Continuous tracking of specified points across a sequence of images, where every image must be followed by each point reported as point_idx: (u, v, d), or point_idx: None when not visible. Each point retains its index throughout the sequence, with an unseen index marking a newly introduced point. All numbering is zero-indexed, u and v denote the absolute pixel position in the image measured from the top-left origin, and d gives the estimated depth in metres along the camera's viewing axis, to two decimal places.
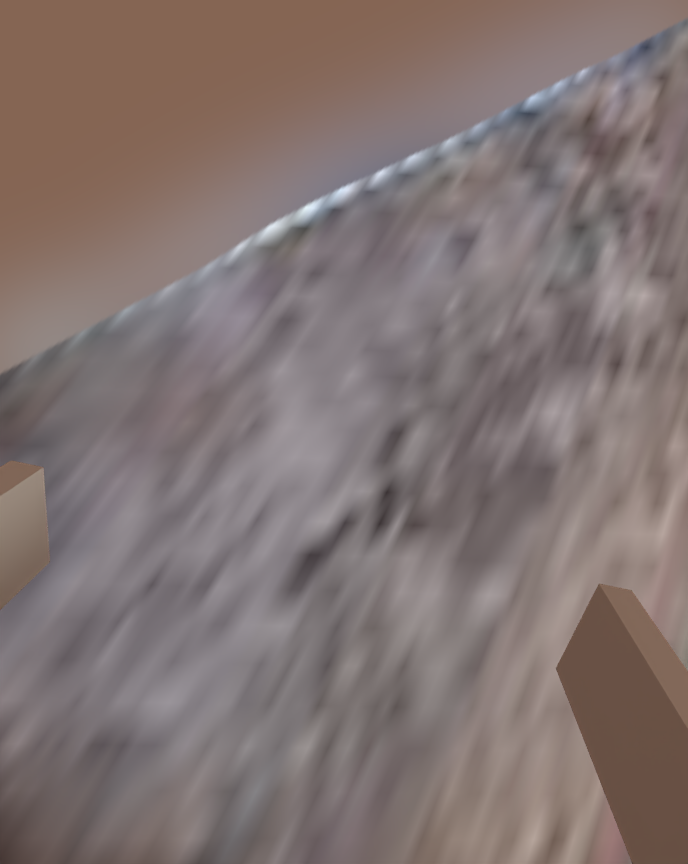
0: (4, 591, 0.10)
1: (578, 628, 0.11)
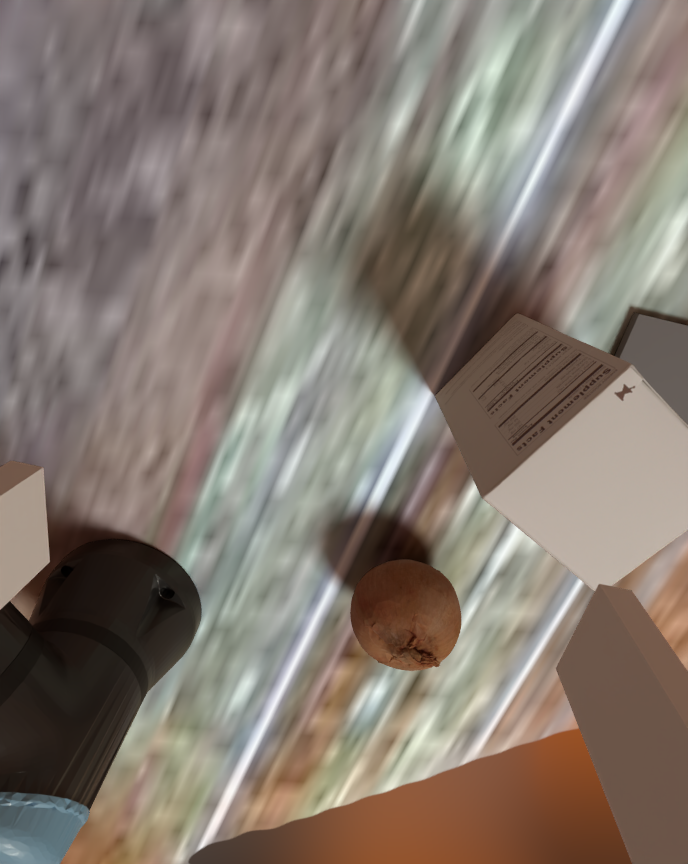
0: (3, 591, 0.10)
1: (577, 629, 0.11)
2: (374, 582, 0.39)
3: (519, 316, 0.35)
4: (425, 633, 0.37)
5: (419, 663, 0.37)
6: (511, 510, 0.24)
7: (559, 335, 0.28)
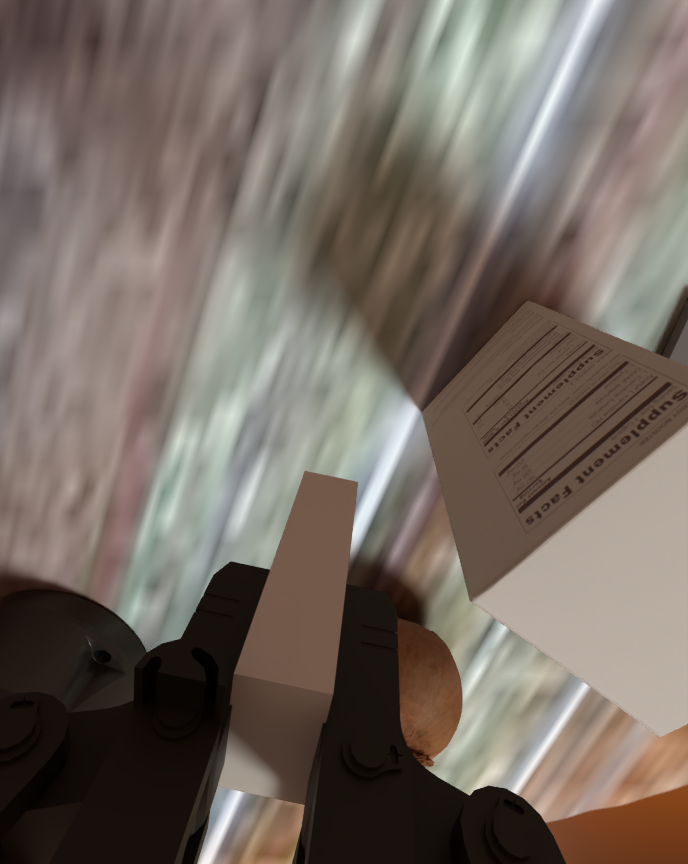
0: None
1: None
2: None
3: (531, 305, 0.26)
4: (412, 726, 0.28)
5: None
6: (518, 620, 0.15)
7: (590, 331, 0.19)
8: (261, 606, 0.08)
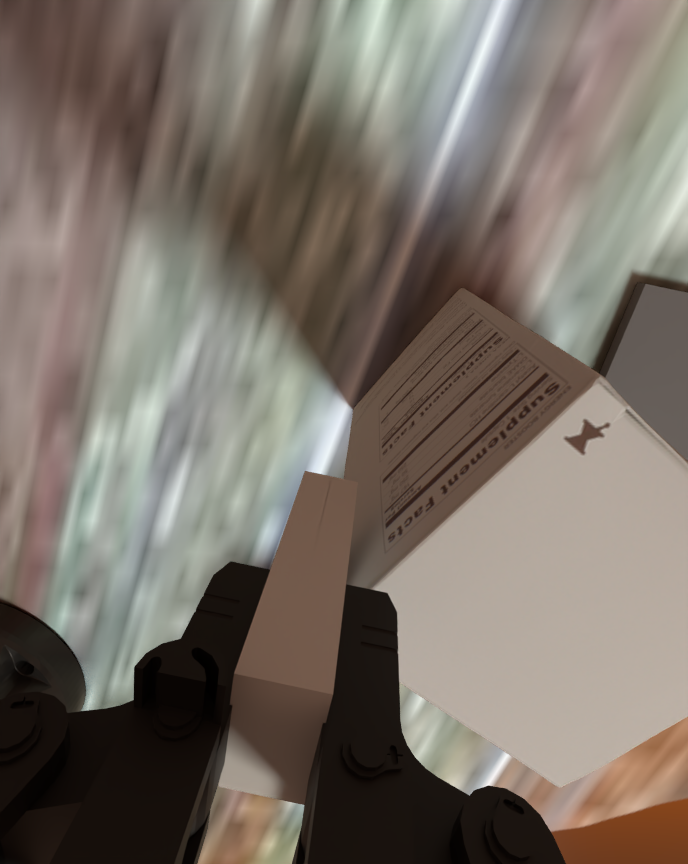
0: None
1: None
2: None
3: (462, 292, 0.23)
4: None
5: None
6: None
7: (498, 317, 0.16)
8: (261, 607, 0.08)
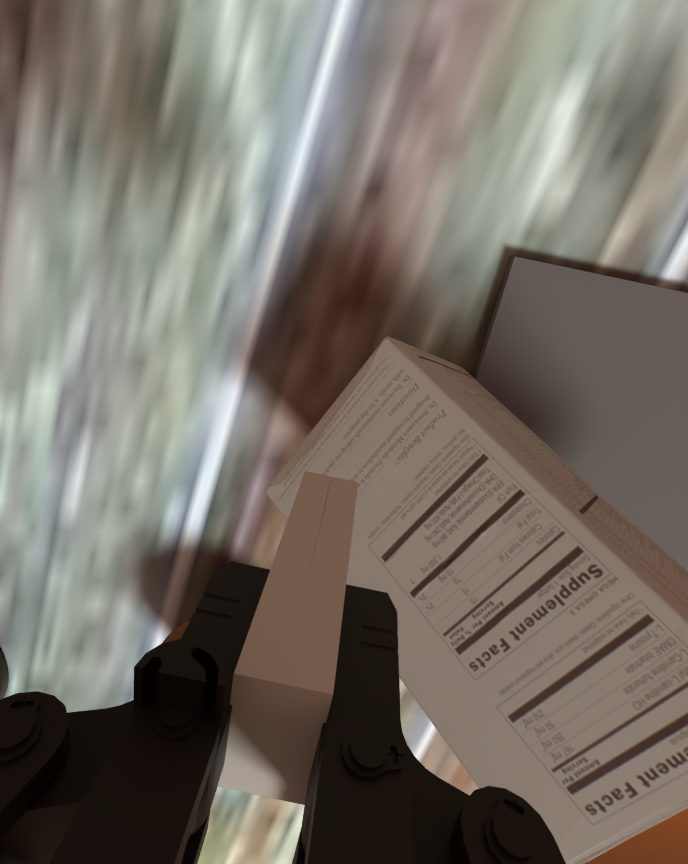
0: None
1: None
2: None
3: (400, 357, 0.18)
4: None
5: None
6: None
7: (560, 510, 0.15)
8: (261, 606, 0.08)
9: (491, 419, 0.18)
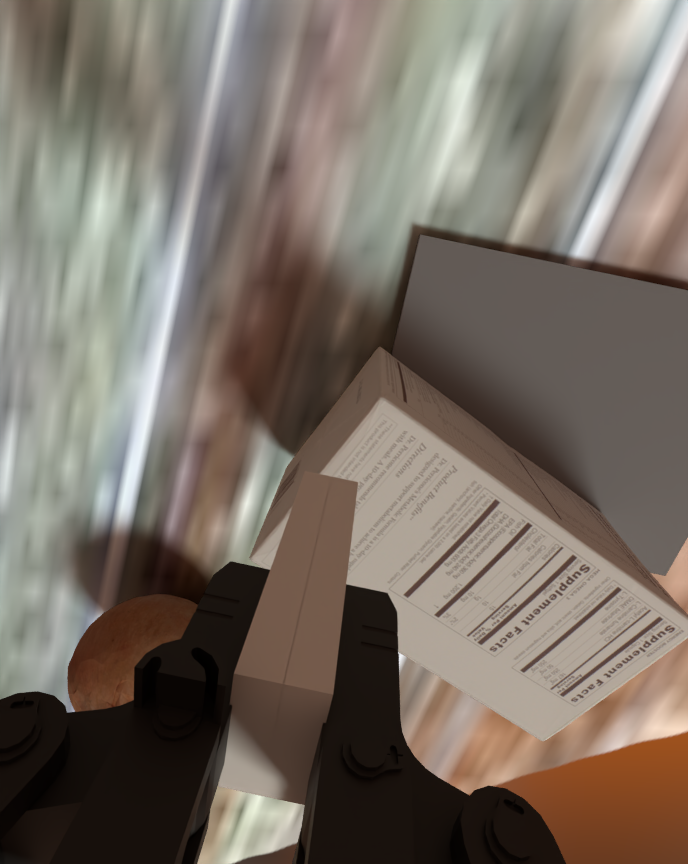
0: None
1: None
2: (91, 630, 0.28)
3: (401, 418, 0.17)
4: None
5: None
6: None
7: (559, 532, 0.18)
8: (261, 606, 0.08)
9: (475, 447, 0.19)
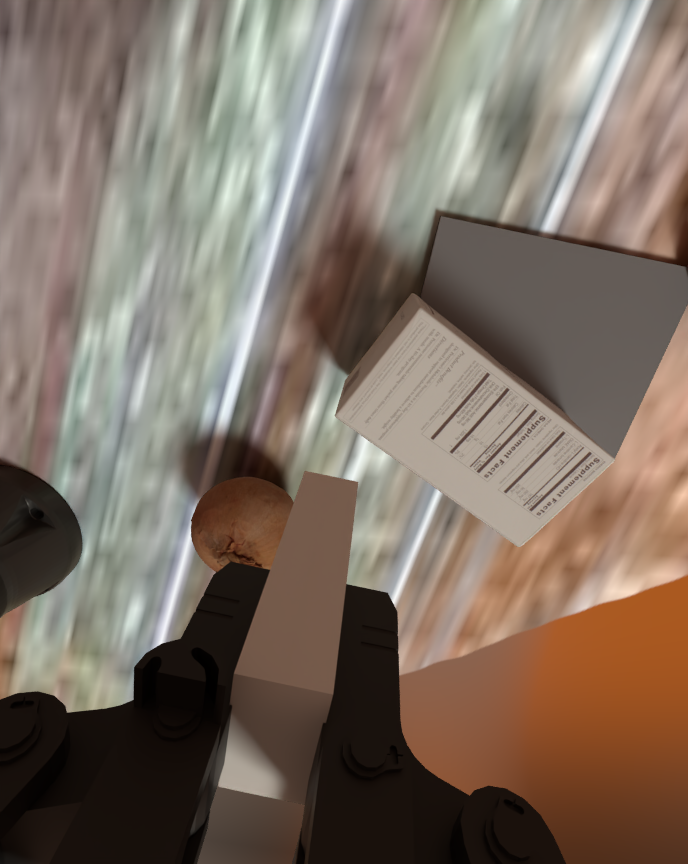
0: None
1: None
2: (207, 494, 0.41)
3: (432, 320, 0.29)
4: (244, 538, 0.38)
5: None
6: None
7: (526, 394, 0.30)
8: (261, 606, 0.08)
9: (475, 346, 0.31)
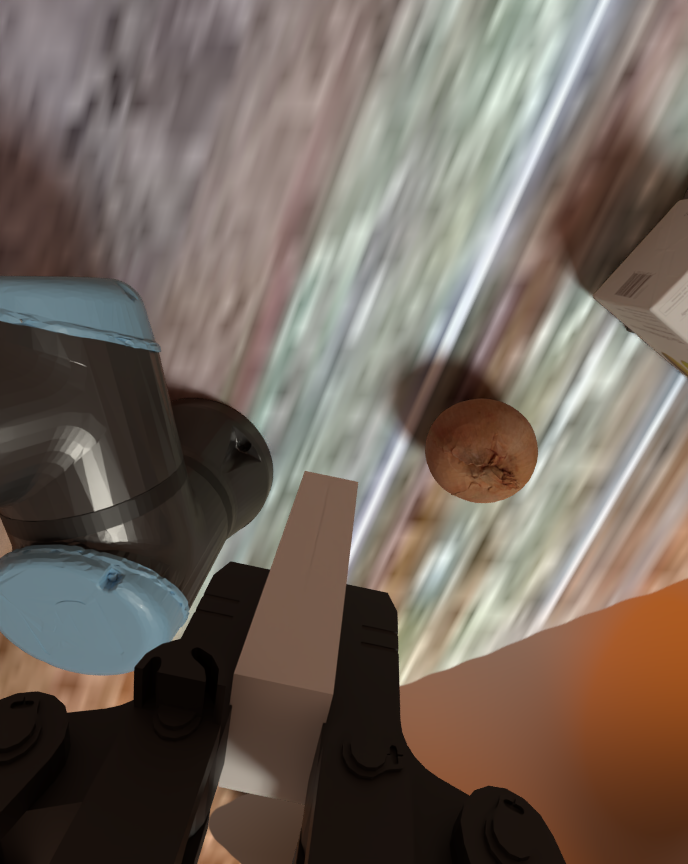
0: None
1: None
2: (451, 413, 0.40)
3: None
4: (506, 451, 0.37)
5: (500, 481, 0.37)
6: None
7: None
8: (261, 606, 0.08)
9: None
